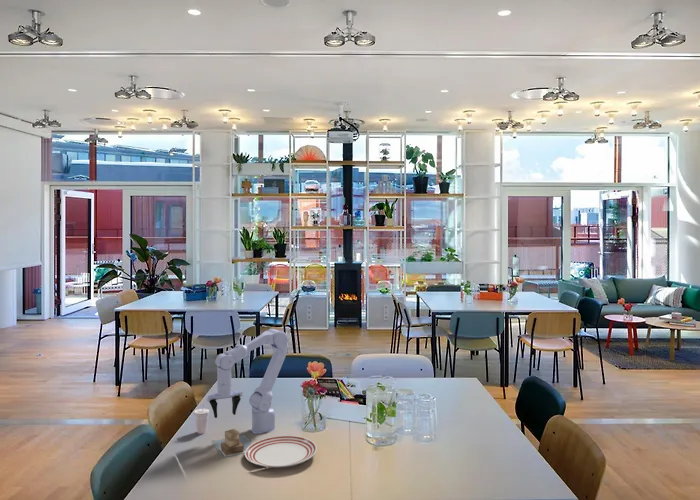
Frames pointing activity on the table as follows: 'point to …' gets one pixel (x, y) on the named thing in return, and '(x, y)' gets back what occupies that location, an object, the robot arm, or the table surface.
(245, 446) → the build board
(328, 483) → the table surface
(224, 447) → the walnut slab
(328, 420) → the table surface
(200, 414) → the smoothie
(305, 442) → the dinner plate
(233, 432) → the oak block
